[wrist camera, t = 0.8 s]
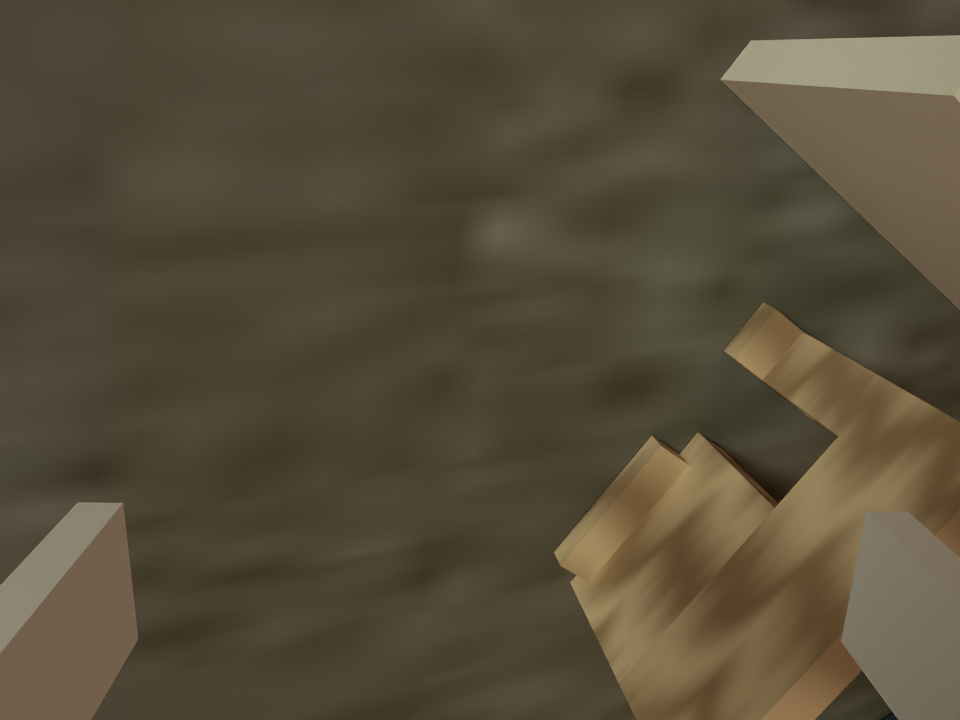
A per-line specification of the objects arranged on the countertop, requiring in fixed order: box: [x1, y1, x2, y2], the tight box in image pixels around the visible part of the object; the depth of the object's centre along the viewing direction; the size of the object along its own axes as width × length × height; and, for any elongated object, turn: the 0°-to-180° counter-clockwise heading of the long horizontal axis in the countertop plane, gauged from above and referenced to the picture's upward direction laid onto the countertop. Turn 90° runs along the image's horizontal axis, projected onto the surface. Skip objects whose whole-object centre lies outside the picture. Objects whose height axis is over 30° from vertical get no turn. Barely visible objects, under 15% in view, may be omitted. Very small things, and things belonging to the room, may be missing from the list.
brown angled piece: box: [554, 303, 960, 720], centre depth 36 cm, size 18×6×14 cm, turn 142°
